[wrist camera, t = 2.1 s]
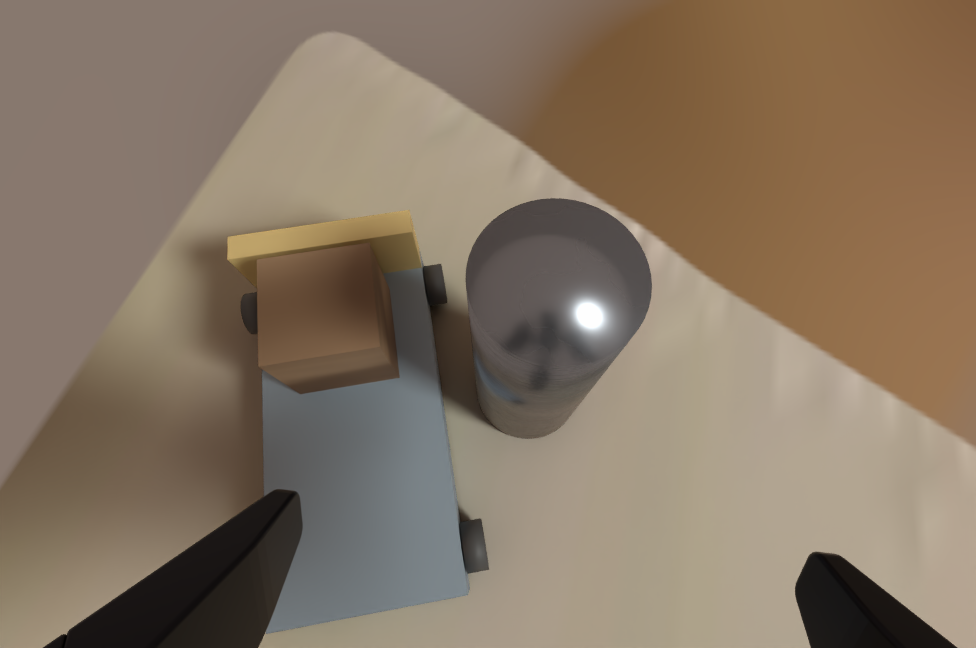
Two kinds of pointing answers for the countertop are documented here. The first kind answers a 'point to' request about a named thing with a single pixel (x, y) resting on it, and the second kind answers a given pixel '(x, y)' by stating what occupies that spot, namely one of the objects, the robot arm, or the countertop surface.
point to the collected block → (325, 319)
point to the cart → (366, 449)
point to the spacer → (550, 309)
